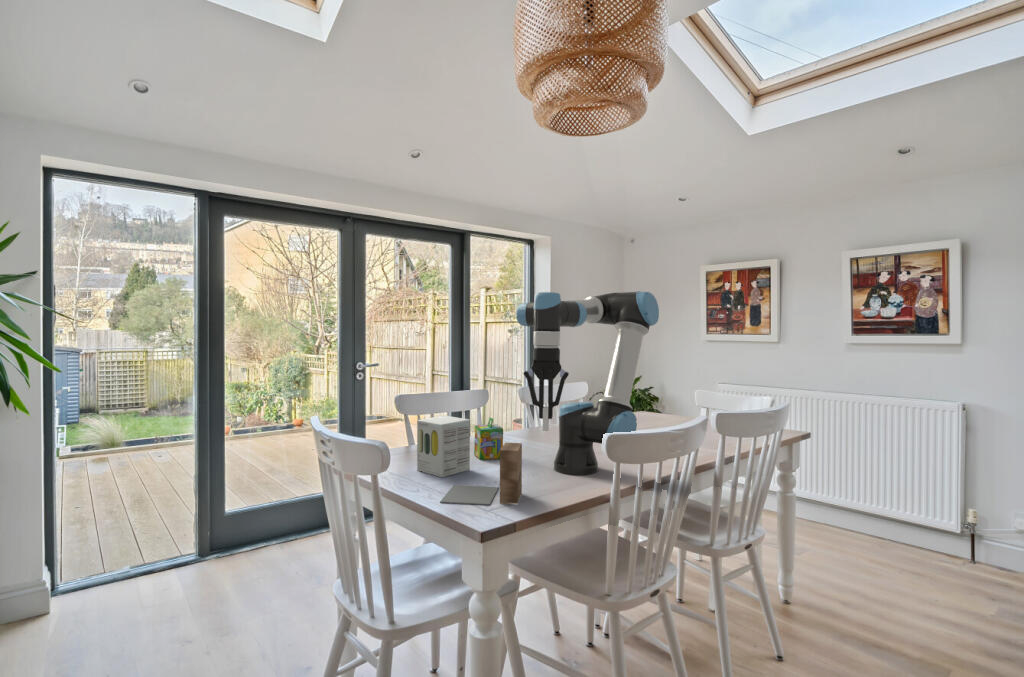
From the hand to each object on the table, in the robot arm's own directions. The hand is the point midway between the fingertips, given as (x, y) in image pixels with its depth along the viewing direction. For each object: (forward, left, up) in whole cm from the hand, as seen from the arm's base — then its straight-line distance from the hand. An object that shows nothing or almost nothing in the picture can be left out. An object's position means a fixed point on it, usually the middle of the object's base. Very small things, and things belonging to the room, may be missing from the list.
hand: (545, 430), depth 154 cm
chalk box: (+25, -48, -20) cm, 58 cm away
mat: (+22, -1, -20) cm, 30 cm away
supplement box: (+37, -27, -20) cm, 50 cm away
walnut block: (+10, 0, -20) cm, 22 cm away
